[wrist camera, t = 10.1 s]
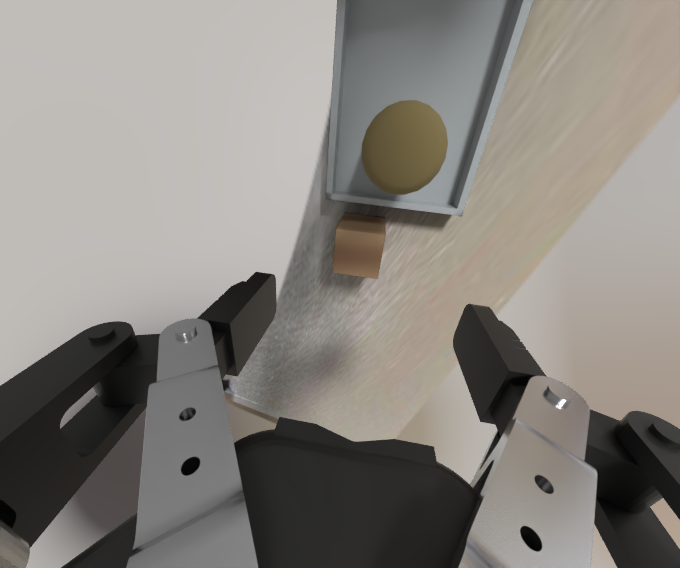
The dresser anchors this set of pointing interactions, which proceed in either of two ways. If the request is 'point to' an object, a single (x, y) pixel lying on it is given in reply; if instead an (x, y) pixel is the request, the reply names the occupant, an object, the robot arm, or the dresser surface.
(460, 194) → the tray
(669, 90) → the dresser surface
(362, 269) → the walnut block
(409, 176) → the cork
